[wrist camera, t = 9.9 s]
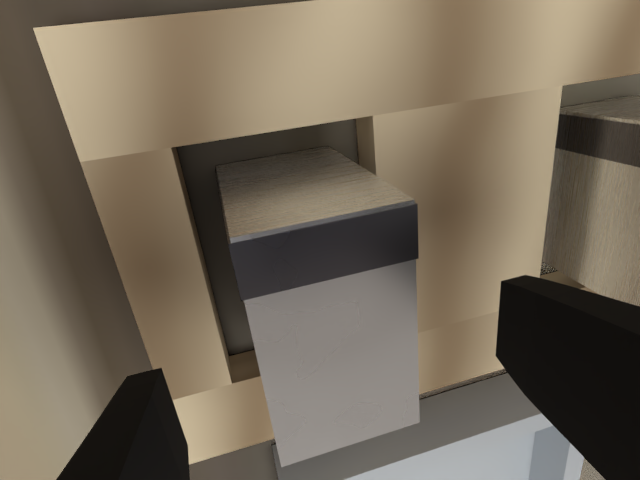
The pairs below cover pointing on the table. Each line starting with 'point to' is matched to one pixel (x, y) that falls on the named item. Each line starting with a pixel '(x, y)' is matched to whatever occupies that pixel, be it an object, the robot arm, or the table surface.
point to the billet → (597, 198)
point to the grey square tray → (455, 443)
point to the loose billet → (326, 295)
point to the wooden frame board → (373, 149)
